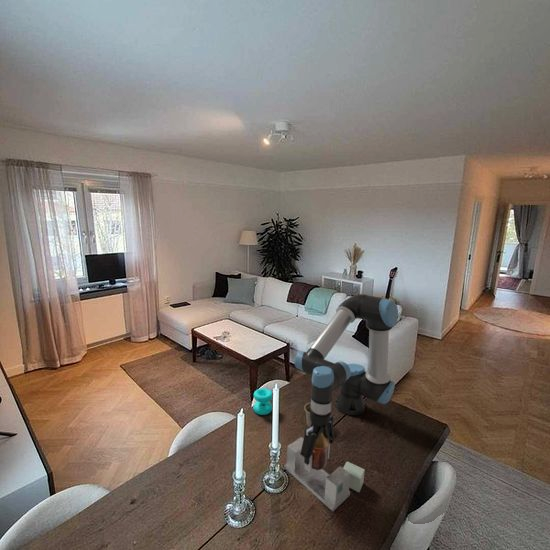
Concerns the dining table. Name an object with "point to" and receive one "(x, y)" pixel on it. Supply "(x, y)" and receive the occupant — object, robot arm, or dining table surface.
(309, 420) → the flower pot
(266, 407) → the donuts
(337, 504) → the grey u-shaped block
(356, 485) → the block
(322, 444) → the mug
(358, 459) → the dining table surface
